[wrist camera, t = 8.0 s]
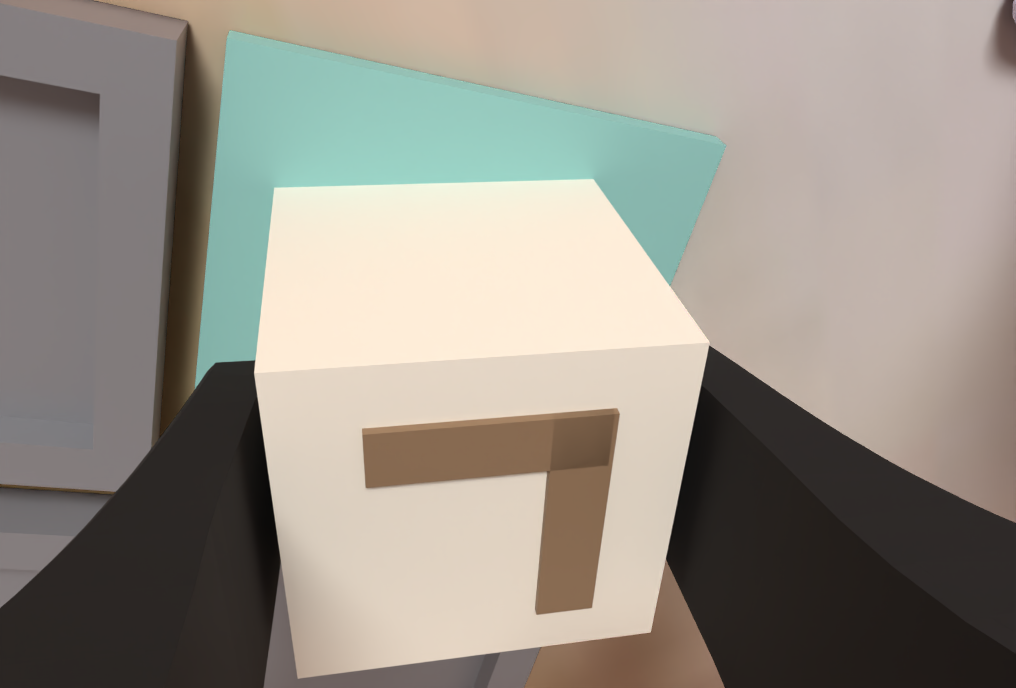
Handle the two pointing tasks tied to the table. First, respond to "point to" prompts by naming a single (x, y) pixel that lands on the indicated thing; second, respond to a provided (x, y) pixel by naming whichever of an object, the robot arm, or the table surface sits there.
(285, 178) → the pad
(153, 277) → the tray
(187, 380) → the table surface
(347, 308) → the letter cube
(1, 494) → the tray
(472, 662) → the tray
